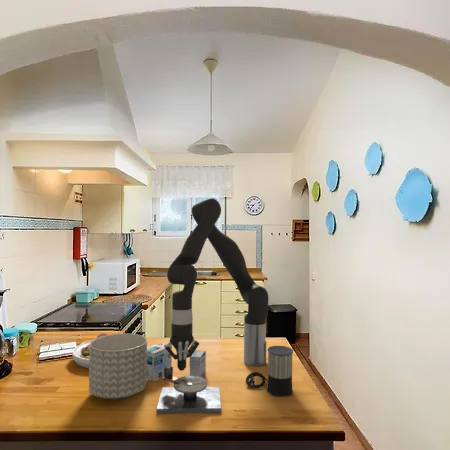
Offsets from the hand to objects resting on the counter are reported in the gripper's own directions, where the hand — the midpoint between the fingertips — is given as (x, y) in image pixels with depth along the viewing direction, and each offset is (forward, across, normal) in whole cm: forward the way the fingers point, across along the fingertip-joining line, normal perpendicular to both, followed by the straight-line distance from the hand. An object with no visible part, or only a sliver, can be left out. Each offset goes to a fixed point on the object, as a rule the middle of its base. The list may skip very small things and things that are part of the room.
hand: (181, 369), depth 128 cm
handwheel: (+2, +1, +7) cm, 8 cm away
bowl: (+8, +19, -42) cm, 47 cm away
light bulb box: (+8, +5, -16) cm, 19 cm away
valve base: (+7, 0, +9) cm, 12 cm away
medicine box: (+8, -10, -10) cm, 16 cm away
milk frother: (+8, -29, +11) cm, 32 cm away
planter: (+7, +21, -6) cm, 23 cm away
